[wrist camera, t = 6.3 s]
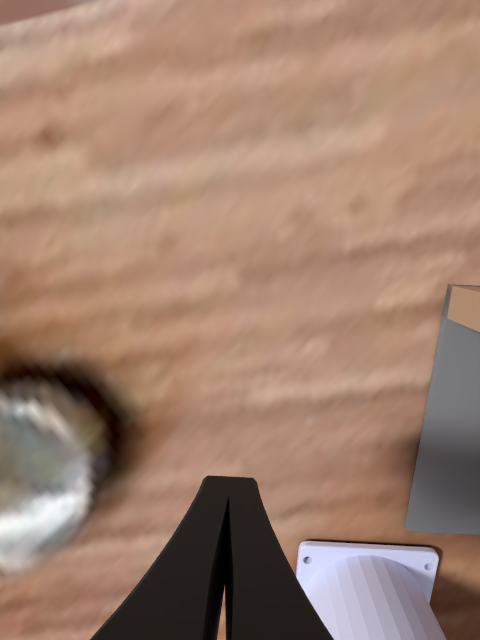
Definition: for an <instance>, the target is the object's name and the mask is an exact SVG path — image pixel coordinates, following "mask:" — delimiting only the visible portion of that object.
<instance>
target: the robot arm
mask: <svg viewBox="0 0 480 640" xmlns="http://www.w3.org/2000/svg"><path fill="white" fill-rule="evenodd" d="M305 557H309V558H305ZM438 561H439V556H438V555H437V553H436V551H435V550H434V549H433V548H429V547H412V546H394V545H375V544H356V543H337V542H318V541H304V542H302V543H301V544H300V545H299V550H298V560H297V570H296V576H295V574H294V572H293V570H292V568H291V566H290V564H289V563H288V561H287V559H286V557H285V555H284V553H283V551H282V549H281V546H280V544H279V542H278V540H277V537H276V535H275V533H274V531H273V529H272V526H271V524H270V522H269V519H268V517H267V514H266V511H265V509H264V506H263V503H262V500H261V497H260V494H259V490H258V486H257V482H256V481H255V480H254V478H245V477H226V476H207V477H205V478H204V479H203V481H202V484H201V486H200V489H199V491H198V493H197V495H196V497H195V499H194V501H193V502H192V504H191V506H190V508H189V510H188V511H187V513H186V515H185V516H184V518H183V520H182V521H181V523H180V524H179V526H178V528H177V529H176V531H175V533H174V534H173V536H172V537H171V539H170V540H169V542H168V543H167V545H166V546H165V547H164V549H163V550H162V552H161V553H160V555H159V556H158V557H157V559H156V560H155V562H154V563H153V564H152V566H151V567H150V569H149V570H148V571H147V573H146V574H145V575H144V577H143V578H142V579H141V580H140V582H139V583H138V584H137V586H136V587H135V588H134V589H133V591H132V592H131V593H130V594H129V595H128V597H127V598H126V599H125V600H124V601H123V603H122V604H121V605H120V606H119V607H118V609H117V610H116V611H115V612H114V613H113V614H112V615H111V617H110V618H109V619H108V620H107V621H106V622H105V623H104V624H103V625H102V627H101V628H100V629H99V630H98V631H97V632H96V633H95V634H94V636H93V637H92V638H91V639H90V640H217V635H218V628H219V621H220V614H221V607H222V600H223V593H224V586H225V609H226V640H446V637H445V635H444V633H443V631H442V629H441V627H440V625H439V623H438V621H437V619H436V617H435V615H434V613H433V611H432V609H431V607H430V605H429V603H430V599H431V594H432V589H433V585H434V580H435V575H436V570H437V566H438ZM427 563H428V564H427Z"/></svg>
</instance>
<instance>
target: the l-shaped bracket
mask: <svg viewBox="0 0 480 640" xmlns="http://www.w3.org/2000/svg"><path fill="white" fill-rule="evenodd" d="M405 527H406V529H407V531H412V532H431V533H450V534H469V535H480V286H470V285H448V288H447V294H446V299H445V305H444V310H443V316H442V321H441V327H440V332H439V338H438V343H437V349H436V355H435V360H434V366H433V371H432V377H431V382H430V388H429V393H428V399H427V405H426V410H425V416H424V421H423V427H422V432H421V438H420V443H419V449H418V454H417V460H416V466H415V471H414V477H413V482H412V488H411V493H410V499H409V504H408V510H407V516H406V521H405Z"/></svg>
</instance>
